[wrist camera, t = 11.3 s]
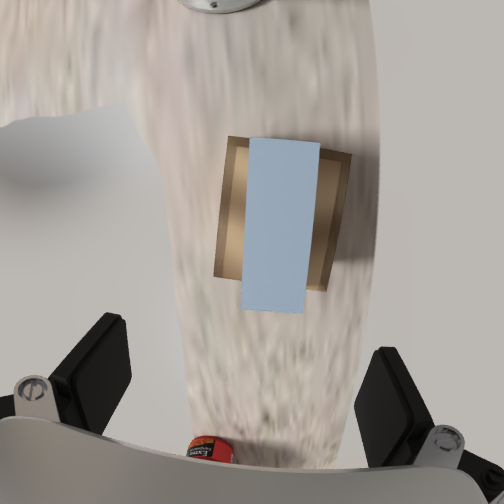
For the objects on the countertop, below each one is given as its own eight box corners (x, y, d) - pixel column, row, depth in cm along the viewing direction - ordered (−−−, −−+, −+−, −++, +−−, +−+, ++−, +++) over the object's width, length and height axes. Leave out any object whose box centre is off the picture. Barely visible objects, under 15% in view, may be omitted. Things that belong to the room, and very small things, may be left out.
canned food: (210, 428, 44) (198, 483, 34) (244, 452, 46) (239, 504, 35) (180, 443, 46) (165, 493, 36) (213, 465, 48) (204, 513, 37)
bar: (254, 141, 24) (249, 137, 20) (310, 145, 24) (319, 142, 19) (245, 282, 28) (240, 309, 23) (297, 286, 28) (302, 313, 23)
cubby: (238, 140, 32) (228, 135, 24) (333, 154, 32) (351, 154, 24) (225, 250, 36) (213, 276, 28) (315, 262, 35) (326, 291, 28)
